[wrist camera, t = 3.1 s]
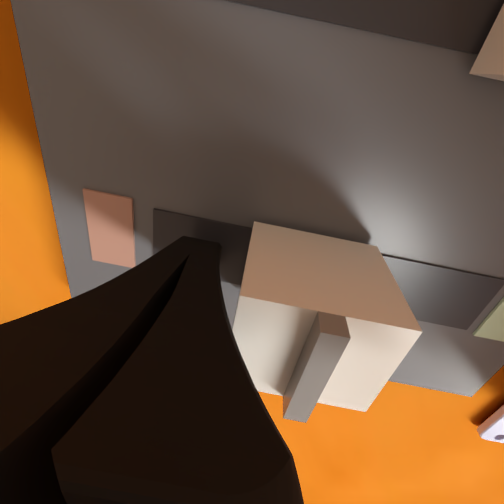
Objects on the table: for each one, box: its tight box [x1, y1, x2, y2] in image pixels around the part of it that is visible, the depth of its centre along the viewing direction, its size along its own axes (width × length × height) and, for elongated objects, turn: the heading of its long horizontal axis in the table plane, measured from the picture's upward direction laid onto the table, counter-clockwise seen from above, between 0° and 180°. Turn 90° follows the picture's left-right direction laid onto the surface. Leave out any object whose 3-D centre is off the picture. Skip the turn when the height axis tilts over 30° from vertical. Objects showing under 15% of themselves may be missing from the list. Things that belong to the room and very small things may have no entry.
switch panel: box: [11, 0, 504, 397], centre depth 9 cm, size 18×16×1 cm
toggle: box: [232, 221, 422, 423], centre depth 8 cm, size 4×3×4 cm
